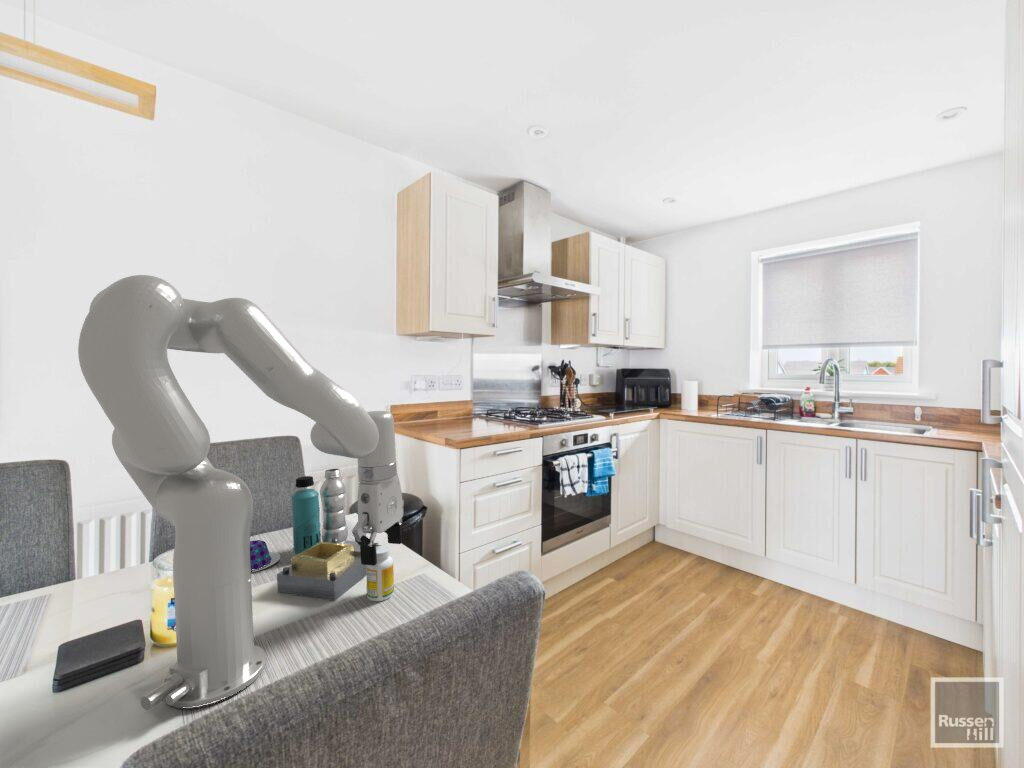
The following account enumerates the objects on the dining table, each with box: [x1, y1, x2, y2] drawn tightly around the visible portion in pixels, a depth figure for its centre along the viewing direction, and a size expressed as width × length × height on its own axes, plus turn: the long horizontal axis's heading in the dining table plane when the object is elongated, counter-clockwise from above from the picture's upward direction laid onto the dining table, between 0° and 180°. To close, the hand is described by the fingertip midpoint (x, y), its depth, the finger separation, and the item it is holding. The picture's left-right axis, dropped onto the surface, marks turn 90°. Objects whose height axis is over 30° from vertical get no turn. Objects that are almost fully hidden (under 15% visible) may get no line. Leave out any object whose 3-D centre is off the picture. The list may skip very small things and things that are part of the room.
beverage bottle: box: [290, 475, 322, 555], centre depth 108 cm, size 6×7×20 cm
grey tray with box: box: [276, 539, 384, 601], centre depth 99 cm, size 21×14×6 cm, turn 165°
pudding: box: [250, 539, 281, 573], centre depth 104 cm, size 12×12×5 cm
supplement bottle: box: [365, 545, 395, 602], centre depth 88 cm, size 5×5×10 cm
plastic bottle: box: [319, 468, 349, 542], centre depth 115 cm, size 6×7×20 cm
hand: (382, 553), depth 89 cm, fingers open, 9 cm apart
